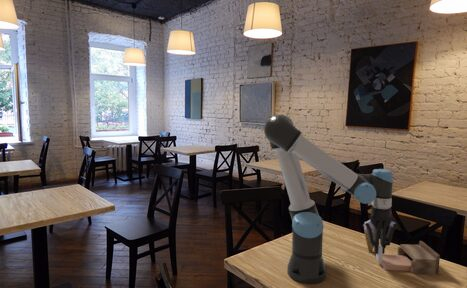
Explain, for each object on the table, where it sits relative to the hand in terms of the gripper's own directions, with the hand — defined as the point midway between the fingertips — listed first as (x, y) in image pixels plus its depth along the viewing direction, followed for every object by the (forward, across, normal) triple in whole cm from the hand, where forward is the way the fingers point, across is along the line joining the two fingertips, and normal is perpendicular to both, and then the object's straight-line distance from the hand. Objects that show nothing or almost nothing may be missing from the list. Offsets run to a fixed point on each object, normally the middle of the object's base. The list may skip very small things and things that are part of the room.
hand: (378, 260), depth 129 cm
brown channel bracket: (+2, +15, 0) cm, 15 cm away
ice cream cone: (+2, 0, +12) cm, 12 cm away
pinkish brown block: (+2, +7, 0) cm, 7 cm away
